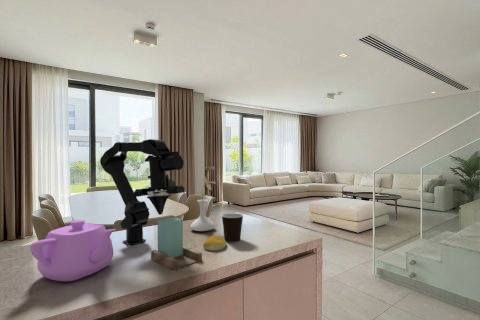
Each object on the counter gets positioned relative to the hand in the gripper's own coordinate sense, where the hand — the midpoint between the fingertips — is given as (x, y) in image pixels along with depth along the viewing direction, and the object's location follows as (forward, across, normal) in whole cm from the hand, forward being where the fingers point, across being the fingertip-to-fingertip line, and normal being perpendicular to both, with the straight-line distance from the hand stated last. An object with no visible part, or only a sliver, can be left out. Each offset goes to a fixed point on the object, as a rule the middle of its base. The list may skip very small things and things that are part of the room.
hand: (160, 214), depth 96 cm
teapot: (+13, +12, +24) cm, 30 cm away
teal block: (+14, -7, +5) cm, 16 cm away
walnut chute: (+14, -10, +6) cm, 18 cm away
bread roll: (+15, -17, -9) cm, 24 cm away
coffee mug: (+14, -20, -20) cm, 32 cm away
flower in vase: (+12, -2, -28) cm, 31 cm away
